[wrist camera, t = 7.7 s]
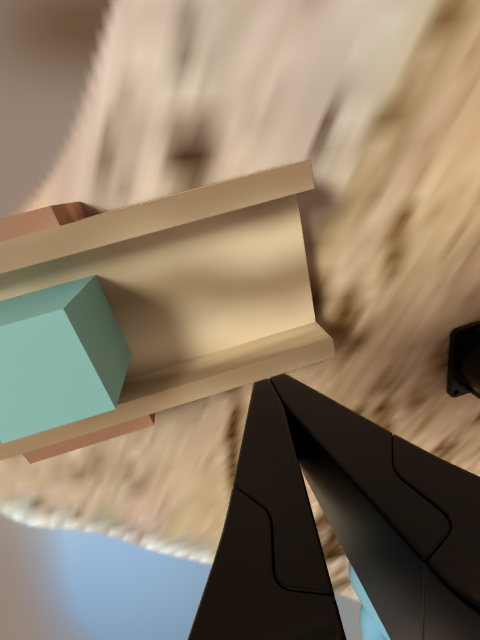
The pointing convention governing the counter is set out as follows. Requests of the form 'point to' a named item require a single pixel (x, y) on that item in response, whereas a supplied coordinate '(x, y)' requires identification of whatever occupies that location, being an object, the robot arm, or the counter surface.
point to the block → (58, 358)
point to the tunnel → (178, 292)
